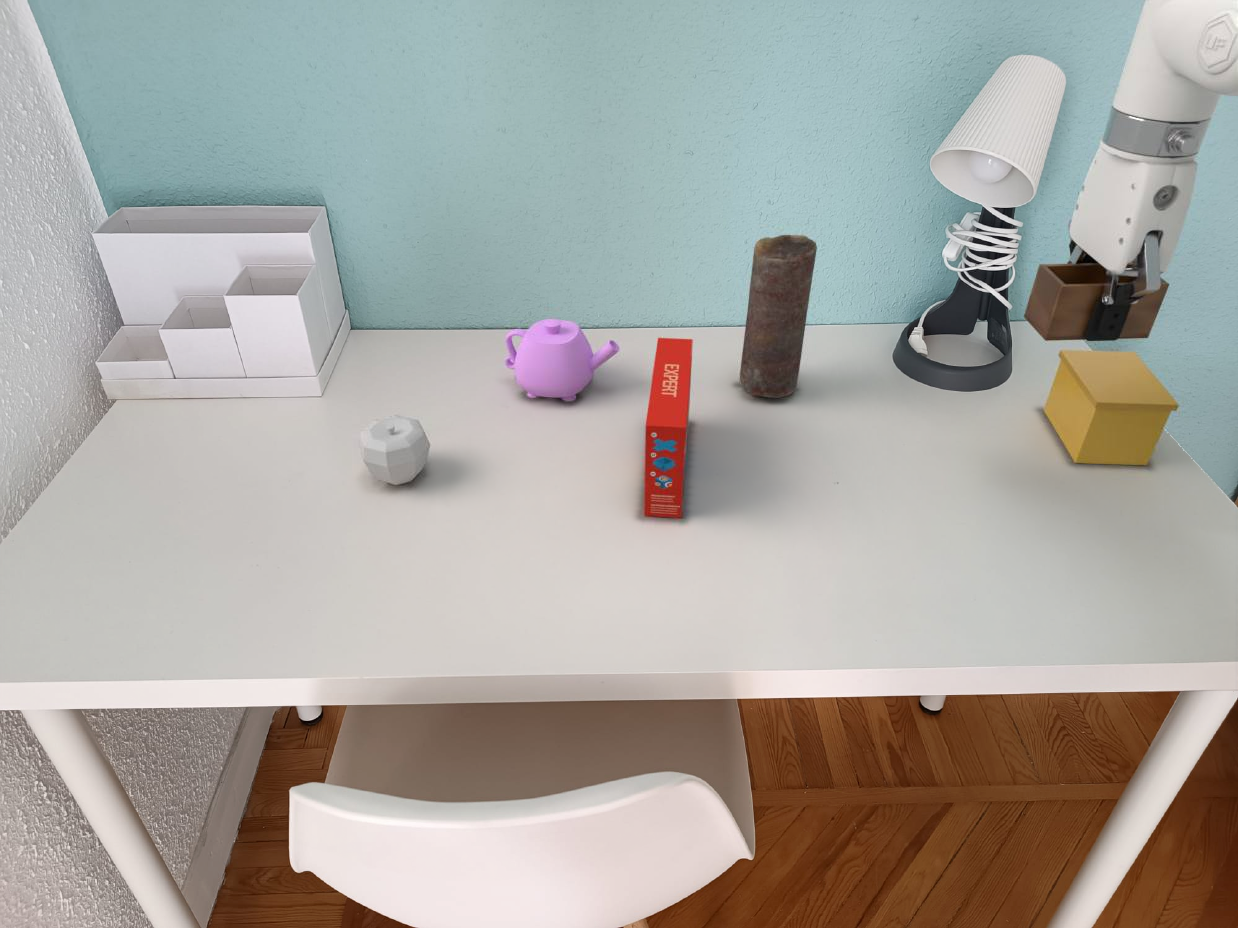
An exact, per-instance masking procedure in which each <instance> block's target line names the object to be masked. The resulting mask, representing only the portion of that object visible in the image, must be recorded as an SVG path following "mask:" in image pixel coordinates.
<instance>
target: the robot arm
mask: <svg viewBox="0 0 1238 928" xmlns="http://www.w3.org/2000/svg"><path fill="white" fill-rule="evenodd" d="M1137 22H1138V23H1137V25H1136V28H1135V31H1134V35H1133V38H1132V41H1131V44H1130V48H1129V51H1128V53H1127V57H1126V60H1125V63H1124V66H1123V70H1122V73H1121V76H1120V79H1119V82H1118V85H1117V89H1116V91H1115V95H1114V98H1113V101H1112V104H1111V107H1110V110H1109V113H1108V117H1107V120H1106V123H1105V126H1104V128H1103V132H1102V136H1101V138H1100V141H1099V147H1098V149H1097V151H1096V153H1095V156H1094V157H1093V160H1092V162H1091V164H1090V167H1089V169H1088V171H1087V174H1086V177H1085V179H1084V181H1083V185H1082V187H1081V189H1080V191H1079V192H1080V193H1079V195H1078V198H1077V200H1076V203H1075V207H1074V209H1073V214H1072V218H1071V219H1070V220H1069V221H1068V224H1067V229H1068V237H1069V241H1070V242H1069V244H1068V247H1069V255H1070V256H1069V258H1068V260H1067V261H1066V264H1078V263H1100V264H1101V265H1102V266H1103V267H1104V268H1106V269H1107V271H1106V276H1105V282H1104V288H1103V294H1102V300H1096V302H1095V305H1094V307H1093V310H1092V313H1091V316H1090V319H1089V322H1088V324H1087V327H1086V330H1085V333H1084V338H1085V339H1086V340H1085V341H1087V342H1111V341H1114V342H1115V341H1117V340H1119V339H1118V338H1119V337H1120V334H1121V332H1122V329H1123V326H1124V324H1125V321H1126V318H1127V316H1128V313H1129V311H1130V308H1131V305H1132V304H1136V303H1137V302H1138V299H1140V298H1142V297H1144V296H1145V295H1147V294H1150V293H1152V292H1155V291H1158V290H1159V289H1160V286H1161V278H1162V277H1161V275H1162V274H1164V273H1165V272H1166V271H1167V270H1168V269H1169V266H1170V264H1171V262H1172V260H1173V258H1174V254H1175V252H1176V249H1177V247H1178V244H1179V241H1180V238H1181V234H1182V232H1183V229H1184V225H1185V222H1186V218H1187V216H1188V212H1189V208H1190V206H1191V205H1190V204H1191V201H1192V197H1193V193H1194V188H1195V184H1196V178H1197V172H1198V171H1197V170H1198V165H1199V164H1198V162H1197V161H1196V159H1197V157H1198V154H1199V151H1200V149H1201V147H1202V143H1203V141H1204V139H1205V137H1206V134H1207V131H1208V128H1209V125H1210V123H1211V120H1212V118H1213V115H1214V112H1215V110H1216V107H1217V106H1218V103H1219V100H1220V97H1221V95H1222V96H1230V97H1238V0H1144V3H1143V7H1142V10H1141V12H1140V16H1139V19H1138V21H1137ZM1128 263H1133V267H1132V268H1126V266H1127V264H1128ZM1119 277H1129V280H1128V283H1126V284H1124V285H1122V286H1120V287H1119V288H1117V284H1118V278H1119ZM1160 277H1161V278H1160Z"/></svg>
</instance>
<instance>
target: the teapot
mask: <svg viewBox="0 0 1238 928" xmlns="http://www.w3.org/2000/svg"><path fill="white" fill-rule="evenodd" d="M506 334H507V335H506V336H505V346H506V349H507V351H508V354H509V355H507V356H506V357H505V360H504V364H505V366H506V367H507V368H508V369H510V370H514V378H515V380H516V382H517V384H518V386H520V387H521V388H522V389H523V390H524V391H526V392H527V394H526V396H527V397H528V398H532V399H536V398H537V399H538V398H541V397H544V398H561V400H562V401H564V402H573V401H575V400H576V399H577V394H578V393H580V392H581V391H582V390H584V388H586V386H587V385H588V384H589V383H590V381H591V380H592V379H593V376H594V374H595V371H596V370H597V369H599V368H600V367H601V366H602V365H603V364H605V363H606V362H607V361H608V360H610V359H611V358H612V357H614V356H615V355H616V354H618V353H619V352H620V350H621V348H620V347H619V344H617V342H615V341H614V340H609V341H608V342H607V343H605V344H604V345H603V346H602V347H601V348H599V349H598V350H597V351H596V352H595V353H594V352H593V349H592V346H591V344H590V342H589V340H588V338H587V336H586V335H585V333H584V332H583V330H582V328H581V327H580V326H579V325H578V324H577V323H576V322H573V321H571V320H564V319H558V318H549V319H542V320H539V321H536V322H534V323H533V324H532V325H531V326H530V327H528V329H527V330H525V329H522V328H514V329H512V330H510V331H509V332H508V333H506ZM515 336H518V337H522V340H521V341H520V343H519V346H518V348H517V350H516V348H515V346H514V343H513V337H515Z"/></svg>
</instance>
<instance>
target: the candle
mask: <svg viewBox="0 0 1238 928" xmlns="http://www.w3.org/2000/svg"><path fill="white" fill-rule="evenodd" d="M817 250H818V245H817V242H816V241H814V239H811V238H809V237H808V236H806V235H802V234H781V235H778V236H775V237H769V236H768V237H767V236H766V237H763V238H760V239H759V240H758V241H756V242H755V244H754V248H753V255H752V266H751V274H750V281H749V292H748V303H747V312H746V318H745V329H744V336H743V344H742V345H743V346H742V352H741V359H740V361H741V362H740V371H739V383H740V385H741V387H742V389H743V390H744V391H745V392H746V393H747V394H748V395H752V396H755V397H766V398H774V399H775V398H776V399H779V398H783V397H785V396H787V395H790V394H793V393H794V391H795V390H796V389H797V386H798V380H799V375H800V368H801V360H802V355H803V353H802V352H803V346H804V338H805V332H806V323H807V316H808V310H809V304H810V303H809V302H810V296H811V289H812V283H813V277H814V276H813V275H814V269H815V263H816V257H817Z"/></svg>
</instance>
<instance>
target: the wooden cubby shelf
mask: <svg viewBox="0 0 1238 928" xmlns="http://www.w3.org/2000/svg"><path fill="white" fill-rule="evenodd" d="M1132 267H1133V263H1128V264H1127V266H1126V268H1132ZM1106 271H1107V269H1106V268H1104V267H1103V266H1102V265H1101V264H1100V263H1078V264H1067V263H1040V264H1038V268H1037V272H1036V275H1035V278H1034V281H1033V284H1032V287H1031V291H1030V294H1029V297H1028V301H1027V304H1026V307H1025V311H1024V313H1023V314H1024V315H1023V318H1024V319H1025V320H1026V321H1027V322H1028V323H1029V325H1030V326H1031V327H1032V328H1033V329H1034V330H1035V331H1036V332H1037V333H1038V334H1039V336H1040V337H1041V338H1042V339H1043V341H1046V342H1049V341H1052V342H1053V341H1087V340H1086V339H1085V338H1084V333H1085V330H1086V327H1087V324H1088V322H1089V319H1090V316H1091V313H1092V310H1093V307H1094V305H1095V302H1096V300H1102V294H1103V288H1104V282H1105V276H1106ZM1160 278H1161V286H1160V289H1159V290H1158V291H1155V292H1152V293H1150V294H1147V295H1145V296H1144V297H1142V298H1140V299H1138V302H1137V303H1136V304H1132V305H1131V308H1130V311H1129V313H1128V316H1127V318H1126V321H1125V324H1124V326H1123V329H1122V332H1121V334H1120V337H1119V338H1118V339H1117V340H1127V339H1129V340H1130V339H1131V340H1132V339H1134V340H1135V339H1148V338H1149V336H1150V334H1151V332H1152V329H1153V326H1154V325H1155V322H1156V319H1157V317H1158V314H1159V311H1160V309H1161V307H1162V304H1163V302H1164V299H1165V297H1166V294H1167V292H1168V289H1169V286H1170V283H1169V282H1167V281H1166V280H1165V279H1164V278H1162V276H1160ZM1128 280H1129V277H1119V278H1118V284H1117V288H1119V287H1120V286H1122V285H1124V284H1126V283H1128Z"/></svg>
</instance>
